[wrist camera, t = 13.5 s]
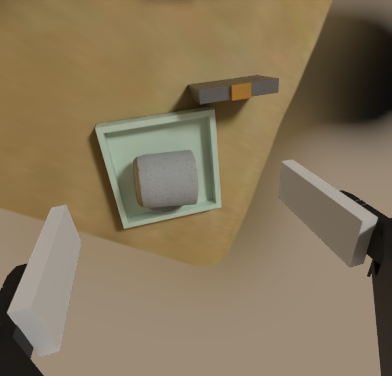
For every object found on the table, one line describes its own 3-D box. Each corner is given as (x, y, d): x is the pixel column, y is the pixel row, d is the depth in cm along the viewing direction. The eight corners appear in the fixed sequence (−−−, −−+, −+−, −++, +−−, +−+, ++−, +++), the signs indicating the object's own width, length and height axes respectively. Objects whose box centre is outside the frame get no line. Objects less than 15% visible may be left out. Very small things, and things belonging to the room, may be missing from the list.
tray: (124, 220, 42) (123, 228, 40) (96, 123, 35) (94, 128, 33) (216, 200, 45) (221, 207, 42) (209, 106, 37) (214, 109, 35)
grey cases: (189, 97, 36) (201, 105, 30) (170, -72, 28) (182, -104, 22) (256, 87, 38) (280, 93, 32) (258, -76, 29) (289, -106, 24)
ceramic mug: (130, 148, 36) (131, 170, 30) (187, 142, 38) (200, 161, 31) (140, 212, 42) (143, 243, 35) (190, 204, 43) (202, 232, 36)
